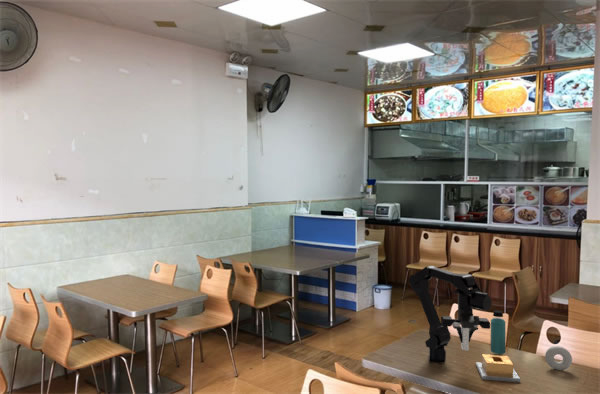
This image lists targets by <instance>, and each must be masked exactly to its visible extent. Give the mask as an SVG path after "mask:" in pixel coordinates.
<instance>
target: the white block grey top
mask: <svg viewBox="0 0 600 394" xmlns="http://www.w3.org/2000/svg"><path fill="white" fill-rule="evenodd" d="M461 333H462V343H461V342H460V348H461V350H462V351H467V352H469V351H470V350H469V345H470V342H469V328H462V327H461Z"/></svg>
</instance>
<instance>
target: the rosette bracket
mask: <svg viewBox="0 0 600 394" xmlns="http://www.w3.org/2000/svg"><path fill="white" fill-rule="evenodd" d="M475 366H476V369H477V371H478V372H479V375H480V377H481V380H484V381H498V382H499V381H500V382H508V383H510V382H511V383H521V378H520V376H519V375H518V373H517V372H516V370H515V368H514V364H513V362H512V361H511V359H510V357H509V356H508V355H501V354H496V353H491V354H484V353H483V354H481V362H477V361H476V362H475Z"/></svg>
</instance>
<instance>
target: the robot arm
mask: <svg viewBox="0 0 600 394" xmlns="http://www.w3.org/2000/svg"><path fill="white" fill-rule="evenodd" d="M432 278H435V279H438V280H441V281H444V282H448V283H450V284H451V285H452V286H453V287H455V288H456V289H455V290H453V294H457V318H452V316H449V315H442V316H441V318H439V315H438V312H437V309H436V307H435V304H434V301H433V299H432V297H431V294H430V292H429V290H430V282H429V281H430V280H431V279H432ZM408 283H409V286H410V287H411V290H413V291H414V292H415V294H417V295H418V299H419V301H420V304H421V306H422V309H423V312H424V314H425V316H426V320H427V322H428V324H429V329H428V333H429V334H428V335H429V338H428V339H427V340H426V341H424V343H425V347H426V348H428V362H430V363H435V364H436V363H439V364H445V363H446V359H447V357H446V356H447V352H446V349H445V347H447V346H448V344H449V343H450V340H451V339H452V338H451V334H452V333H451V332H450V329H449V327H453V329H456V331H457V334H458V338H459V340H460V344H461V343H462V333H461V327H462V328H469V343H470V342H471V340H472V338H473V337H472V336H473V334H474V332H475V331H478V330H479V326H480V327H481V329H486V330H487V329H488V330H489V329H490V330H491V321H489V319H488V318H486V317H480V315H474V313H473V311H474V310H473V309H477V310H481V311H485V312H488V311H490V309H491V308H492V303H493V302H492V299H491V297H490V295H489V293H487V292H482V291H481V289H480V287H479V285H478V283H477V282H476V280H475V277H474V276H473V275H472V274H468V273H455V272H453V271H449V270H446V269H443V268H440V267H439V268H438V267H436V266H434V265H429V266H425V267H424V268H422V269H421V270H419V271H417V272H415V273H414V274H411V275H410V276H409V278H408Z"/></svg>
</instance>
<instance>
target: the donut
mask: <svg viewBox="0 0 600 394" xmlns="http://www.w3.org/2000/svg"><path fill="white" fill-rule="evenodd" d="M544 355H545V356H544V359H545V362H546V363H547V365H548V366H549V367H550V368H552V369H553V370H557V371H565V370H567V369H568V368H570V367H571V365H572V363H573V357H572V354H571V352H570V351H569V350H568V349H566V348H565V347H563V346H559V345H554V346H550V347H549V348H548V349H546V351H545V353H544ZM556 355H559V356H560V357H562V360H560V361H557V360H556V359H555V356H556Z"/></svg>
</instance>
